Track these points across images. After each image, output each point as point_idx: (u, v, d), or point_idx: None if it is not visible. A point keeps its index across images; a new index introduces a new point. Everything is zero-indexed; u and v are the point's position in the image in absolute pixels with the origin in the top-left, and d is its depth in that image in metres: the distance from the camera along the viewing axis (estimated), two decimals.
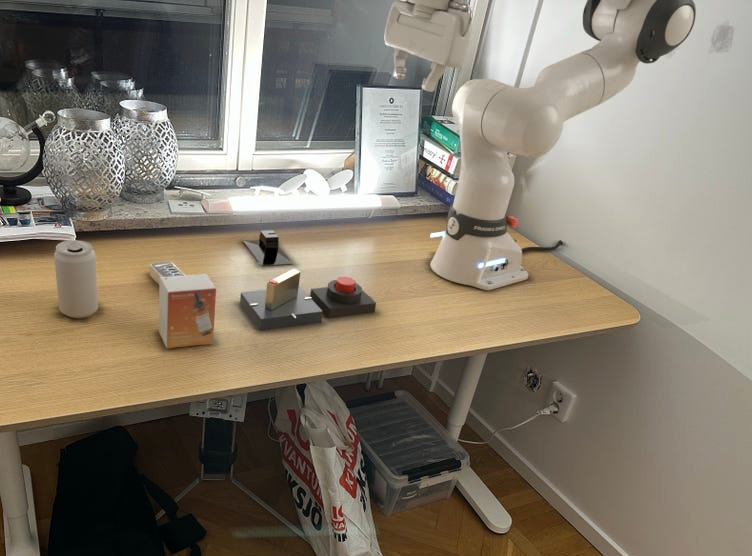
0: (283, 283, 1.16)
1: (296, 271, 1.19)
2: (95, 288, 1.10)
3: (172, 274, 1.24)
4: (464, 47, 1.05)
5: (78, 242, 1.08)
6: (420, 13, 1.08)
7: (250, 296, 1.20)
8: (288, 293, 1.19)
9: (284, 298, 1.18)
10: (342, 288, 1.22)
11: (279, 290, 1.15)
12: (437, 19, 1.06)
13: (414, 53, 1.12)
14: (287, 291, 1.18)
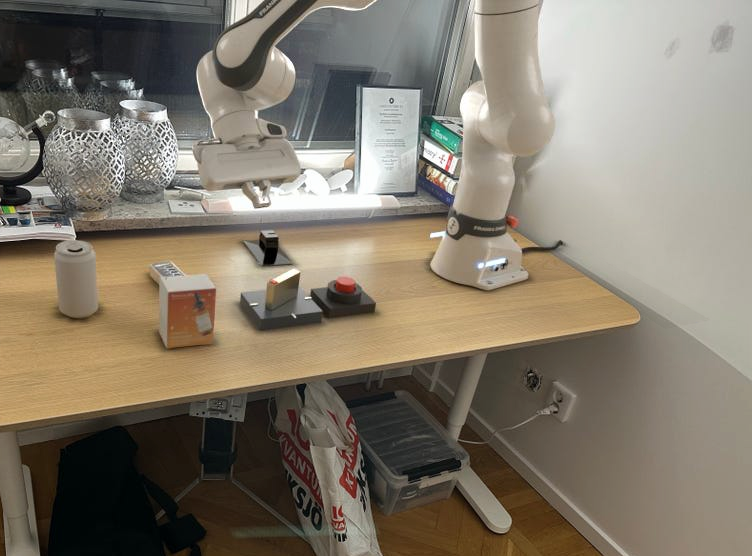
0: (283, 283, 1.16)
1: (296, 271, 1.19)
2: (95, 288, 1.10)
3: (172, 274, 1.24)
4: (203, 168, 1.16)
5: (78, 242, 1.08)
6: None
7: (250, 296, 1.20)
8: (288, 293, 1.19)
9: (284, 298, 1.18)
10: (342, 288, 1.22)
11: (279, 290, 1.15)
12: None
13: None
14: (287, 291, 1.18)
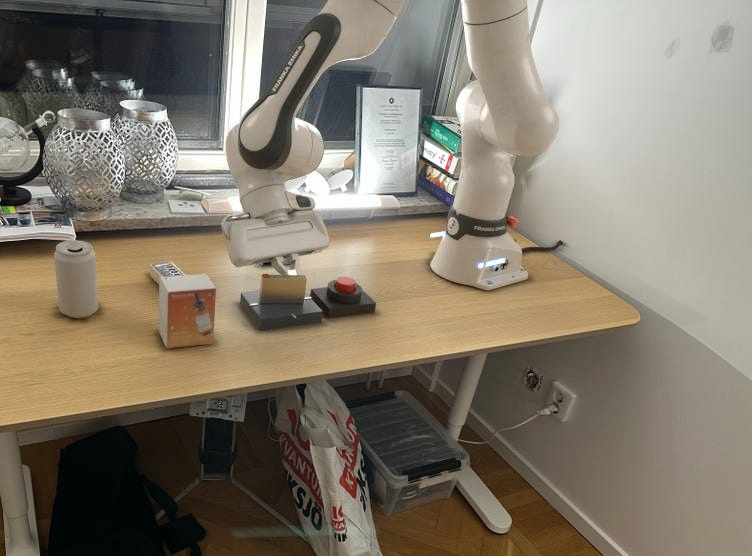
0: (278, 282, 1.16)
1: (303, 277, 1.17)
2: (95, 288, 1.10)
3: (172, 274, 1.24)
4: (233, 245, 1.14)
5: (78, 242, 1.08)
6: None
7: (250, 296, 1.20)
8: (287, 295, 1.18)
9: (281, 298, 1.18)
10: (342, 288, 1.22)
11: (271, 287, 1.16)
12: None
13: None
14: (286, 293, 1.18)
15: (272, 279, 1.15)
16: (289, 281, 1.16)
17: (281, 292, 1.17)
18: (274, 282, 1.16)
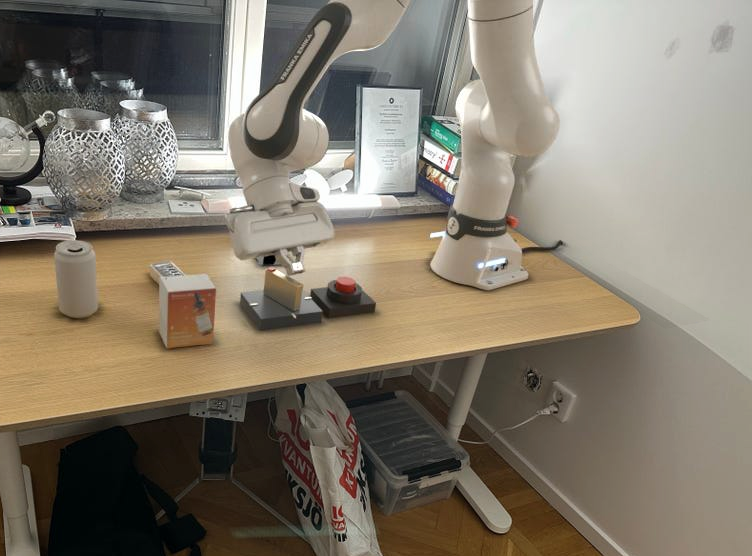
0: (276, 278, 1.17)
1: (297, 284, 1.15)
2: (95, 288, 1.10)
3: (172, 274, 1.24)
4: (237, 238, 1.12)
5: (78, 242, 1.08)
6: None
7: (250, 296, 1.20)
8: (282, 296, 1.17)
9: (277, 296, 1.18)
10: (342, 288, 1.22)
11: (271, 281, 1.18)
12: None
13: None
14: (281, 293, 1.17)
15: (272, 273, 1.17)
16: (284, 282, 1.16)
17: (278, 290, 1.18)
18: (273, 277, 1.17)
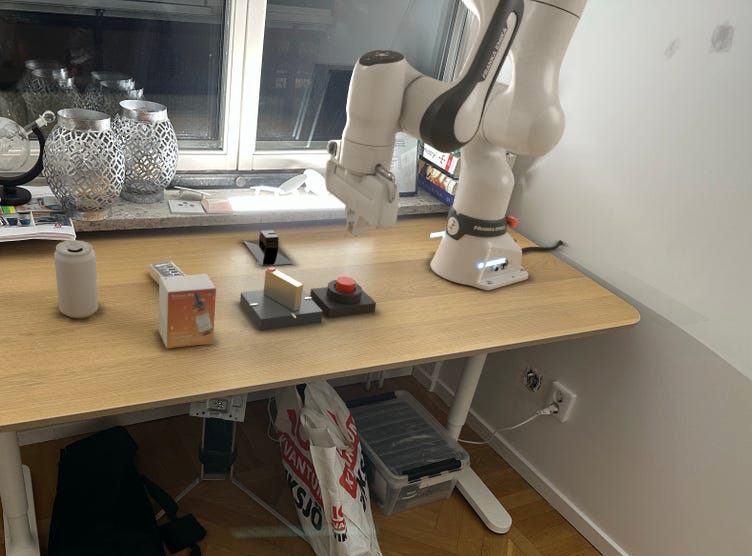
0: (276, 278, 1.17)
1: (297, 284, 1.15)
2: (95, 288, 1.10)
3: (172, 274, 1.24)
4: (394, 210, 1.07)
5: (78, 242, 1.08)
6: (350, 175, 1.10)
7: (250, 296, 1.20)
8: (282, 296, 1.17)
9: (277, 296, 1.18)
10: (342, 288, 1.22)
11: (271, 281, 1.18)
12: (366, 183, 1.08)
13: (351, 208, 1.14)
14: (281, 293, 1.17)
15: (272, 273, 1.17)
16: (284, 282, 1.16)
17: (278, 290, 1.18)
18: (273, 277, 1.17)
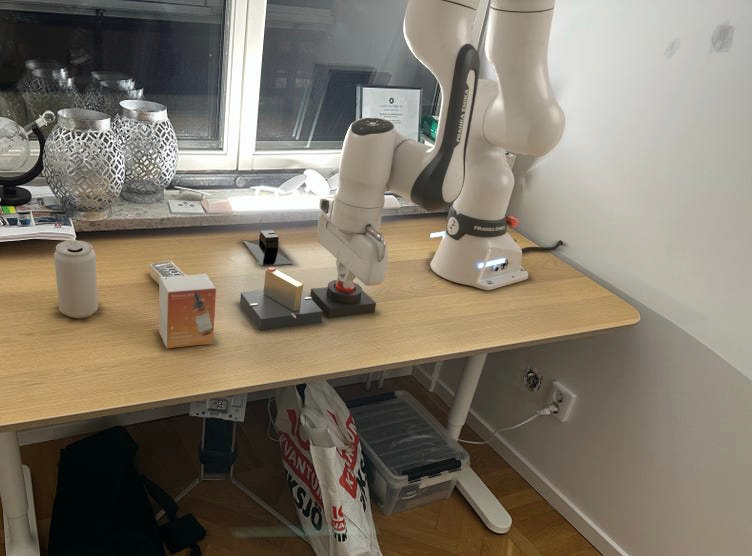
0: (276, 278, 1.17)
1: (297, 284, 1.15)
2: (95, 288, 1.10)
3: (172, 274, 1.24)
4: (383, 269, 1.12)
5: (78, 242, 1.08)
6: (342, 233, 1.16)
7: (250, 296, 1.20)
8: (282, 296, 1.17)
9: (277, 296, 1.18)
10: None
11: (271, 281, 1.18)
12: (356, 242, 1.14)
13: (341, 263, 1.20)
14: (281, 293, 1.17)
15: (272, 273, 1.17)
16: (284, 282, 1.16)
17: (278, 290, 1.18)
18: (273, 277, 1.17)
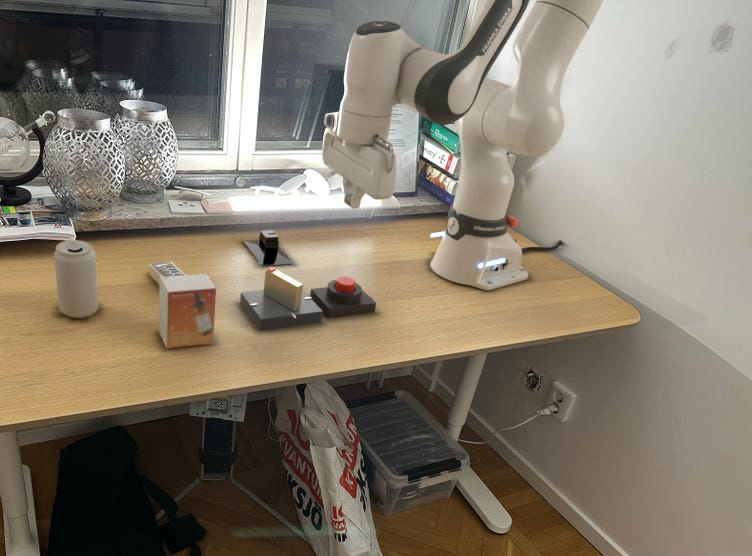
0: (276, 278, 1.17)
1: (297, 284, 1.15)
2: (95, 288, 1.10)
3: (172, 274, 1.24)
4: (392, 180, 1.08)
5: (78, 242, 1.08)
6: (348, 147, 1.11)
7: (250, 296, 1.20)
8: (282, 296, 1.17)
9: (277, 296, 1.18)
10: (342, 288, 1.22)
11: (271, 281, 1.18)
12: (364, 154, 1.10)
13: (348, 180, 1.16)
14: (281, 293, 1.17)
15: (272, 273, 1.17)
16: (284, 282, 1.16)
17: (278, 290, 1.18)
18: (273, 277, 1.17)
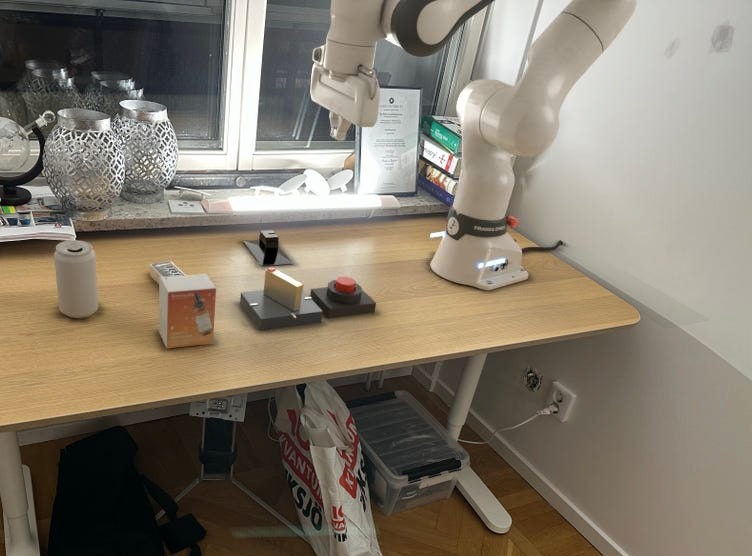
0: (276, 278, 1.17)
1: (297, 284, 1.15)
2: (95, 288, 1.10)
3: (172, 274, 1.24)
4: (375, 108, 1.13)
5: (78, 242, 1.08)
6: (334, 77, 1.16)
7: (250, 296, 1.20)
8: (282, 296, 1.17)
9: (277, 296, 1.18)
10: (342, 288, 1.22)
11: (271, 281, 1.18)
12: (349, 83, 1.14)
13: (334, 112, 1.21)
14: (281, 293, 1.17)
15: (272, 273, 1.17)
16: (284, 282, 1.16)
17: (278, 290, 1.18)
18: (273, 277, 1.17)
